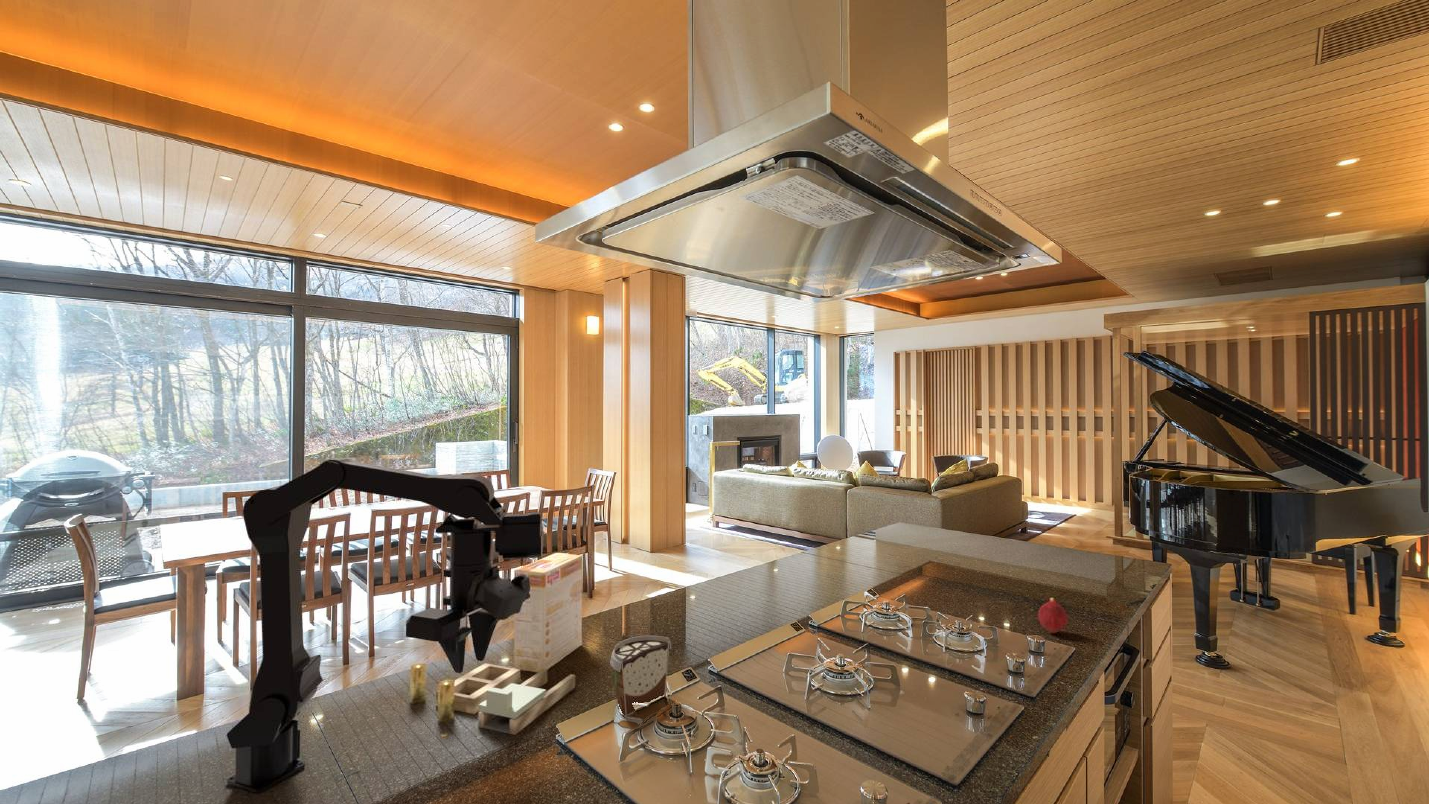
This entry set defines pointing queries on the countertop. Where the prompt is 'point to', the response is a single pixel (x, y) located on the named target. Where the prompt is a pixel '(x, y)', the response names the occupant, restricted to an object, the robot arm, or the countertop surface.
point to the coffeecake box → (549, 612)
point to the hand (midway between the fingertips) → (469, 666)
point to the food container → (640, 670)
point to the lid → (511, 700)
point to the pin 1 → (418, 683)
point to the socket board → (481, 685)
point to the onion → (1052, 616)
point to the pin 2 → (446, 701)
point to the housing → (534, 711)
